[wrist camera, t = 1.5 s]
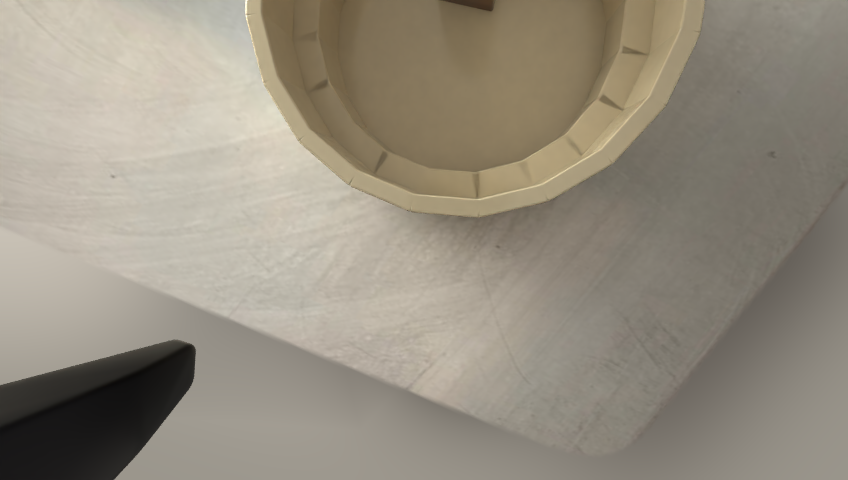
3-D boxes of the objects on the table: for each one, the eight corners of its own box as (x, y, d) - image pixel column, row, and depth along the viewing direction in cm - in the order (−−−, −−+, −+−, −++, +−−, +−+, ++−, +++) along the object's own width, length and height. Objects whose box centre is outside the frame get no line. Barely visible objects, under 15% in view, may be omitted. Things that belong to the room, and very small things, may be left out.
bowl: (551, 258, 20) (581, 284, 14) (265, 138, 21) (190, 118, 15) (702, -66, 18) (804, -181, 12) (377, -183, 18) (336, -340, 13)
